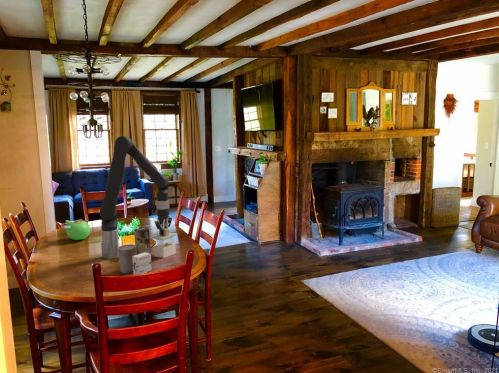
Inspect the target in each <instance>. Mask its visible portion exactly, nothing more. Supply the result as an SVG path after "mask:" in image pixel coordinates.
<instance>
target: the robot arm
mask: <svg viewBox="0 0 499 373" xmlns="http://www.w3.org/2000/svg"><path fill="white" fill-rule="evenodd" d="M127 155H128V156H130V157H131V159H133V160H134V162H135V163H136V164H137V166H138V167H139V168H140V169H141V170H142V171H143V173H145V175H147V176H148V177H149V178H150V180H151V181H152V183H153V184H154V185H155V186H156V187H157V192H156V215H157V220H154V225H155V227H156V229H157V230H158V231H159V230H160V235H161V236H164V230H163V229H164V228H166V229H169V228H170V227H171V225H172V222H173V217H170V202H169V189H170V188H169V187H170V180H169V177H168V176H167V175H166V174H161V172H160V171H158V168H157V166H155V164H153V162H152V161H151V160H150V159H148V157H146V156H145V155H144V153H142V152H141V150H139V148H138V147H137V146H136V144H135V143H134V141H133V140H132V139H131V138H130V137H128V136H125V135H121V136H118V137H117V138H116V139H115V140H114V146H113V153H112V158H111V163H110V167H109V171H108V174H107V180H106V183H105V184H106V185H105V192H104V197H103V200H102V204H101V207H100V209H99V216H100V217H101V225H100V226H101V240H102V242H100V245H101V246H100V249H101V258H102V259H106V260H110V259H116V258H119V252H118V247H120V246H119V245H120V244H119V234H118V233H119V231H118V213H117V212H118V211H117V209H118V208H117V207H116V206H117V203H118V202H117V201H118V198H119V194H120V192H121V189H122V187H123V183H124V179H125V175H126V174H125V173H126V167H125V166H126V163H125V162H126V158H127Z"/></svg>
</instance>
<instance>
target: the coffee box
mask: <svg viewBox="0 0 499 373" xmlns="http://www.w3.org/2000/svg"><path fill="white" fill-rule="evenodd" d="M133 232H134V234H133V235H134V245H136V250H137V255H138V254H142V253H149V254H151V255H152V252H151V251H152V249H151V238H150V237H151V236H150V228H149V227H141V228H134V229H133Z"/></svg>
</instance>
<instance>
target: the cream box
mask: <svg viewBox="0 0 499 373" xmlns="http://www.w3.org/2000/svg"><path fill="white" fill-rule="evenodd" d="M176 244H177V243H174V242H168V241H165V242H163V243H161V244H157V245H155V246H153V255H154V256H153V257H157V258H161V259H165V258H167V257H169V256H173V255H175V254H176V253H177V245H176Z"/></svg>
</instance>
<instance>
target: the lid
mask: <svg viewBox="0 0 499 373" xmlns="http://www.w3.org/2000/svg"><path fill="white" fill-rule="evenodd" d="M163 230H164V236H161V235H160V230H159V229H158V234H155V235H153V236H151V239H153V240H154V239H155V240H158V241H166V240H169V239H172V238H174V237H176V236H177V233H172V232H170V228H168V229H166V228H164V229H163Z"/></svg>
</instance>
